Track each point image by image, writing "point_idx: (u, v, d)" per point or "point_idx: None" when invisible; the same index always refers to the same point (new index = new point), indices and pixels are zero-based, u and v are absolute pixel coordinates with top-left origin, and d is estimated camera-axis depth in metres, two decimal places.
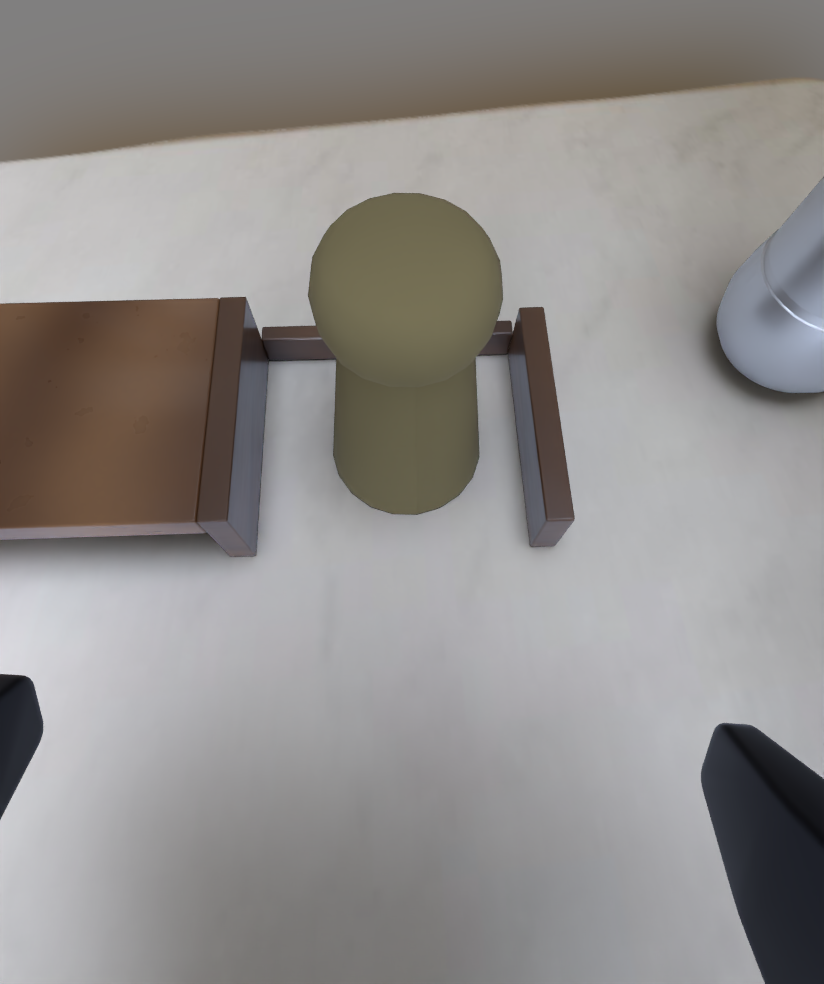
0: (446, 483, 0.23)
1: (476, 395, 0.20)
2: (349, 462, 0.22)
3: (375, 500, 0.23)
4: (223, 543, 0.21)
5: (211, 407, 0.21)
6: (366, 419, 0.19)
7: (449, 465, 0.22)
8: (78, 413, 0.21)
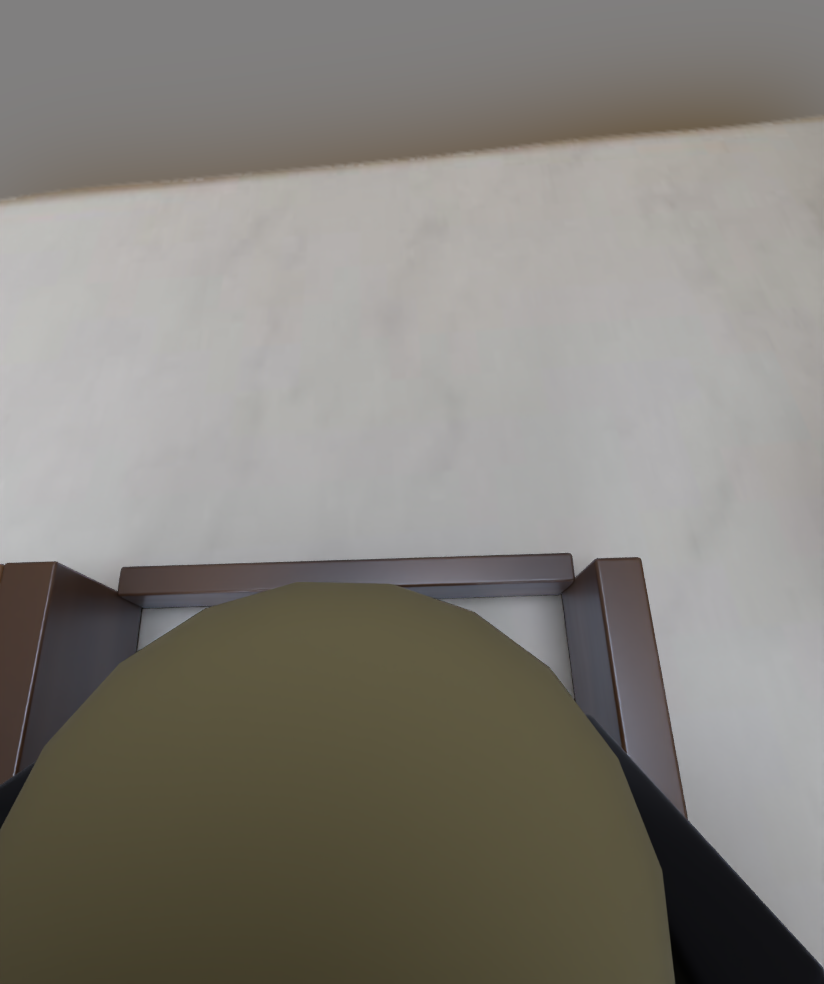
0: None
1: None
2: None
3: None
4: None
5: None
6: None
7: None
8: None
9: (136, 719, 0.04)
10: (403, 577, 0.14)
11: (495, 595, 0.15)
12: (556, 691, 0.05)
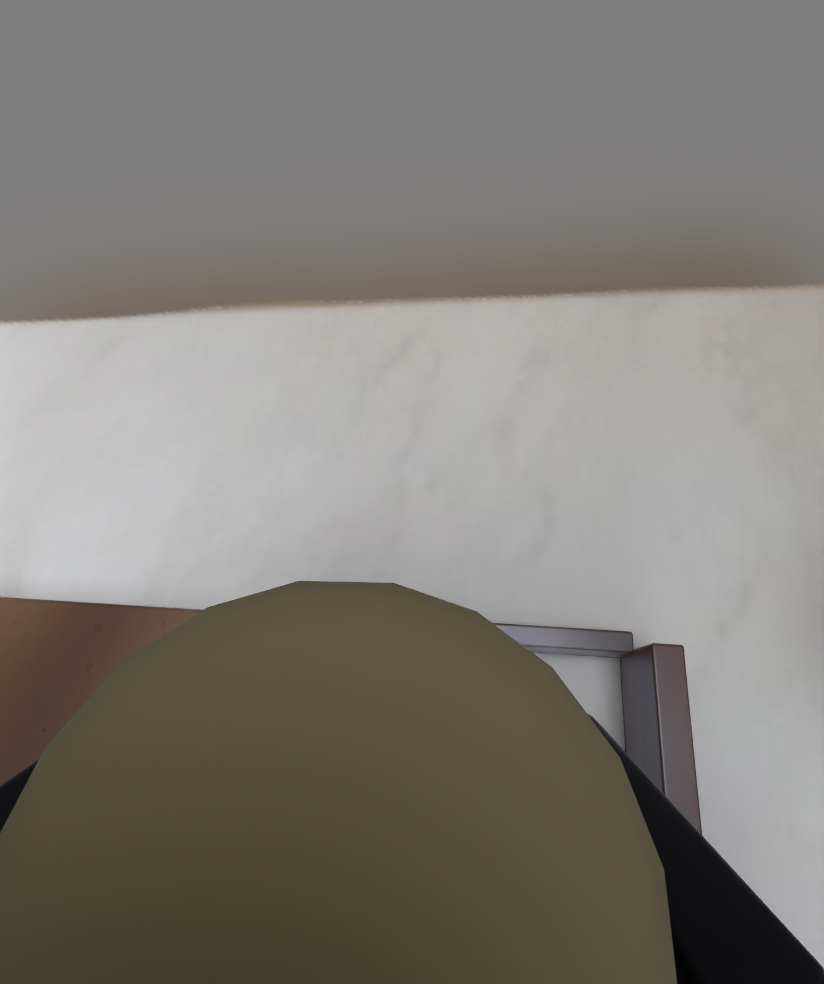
0: None
1: None
2: None
3: None
4: None
5: None
6: None
7: None
8: None
9: (139, 718, 0.04)
10: (513, 638, 0.20)
11: (572, 654, 0.21)
12: (558, 691, 0.05)
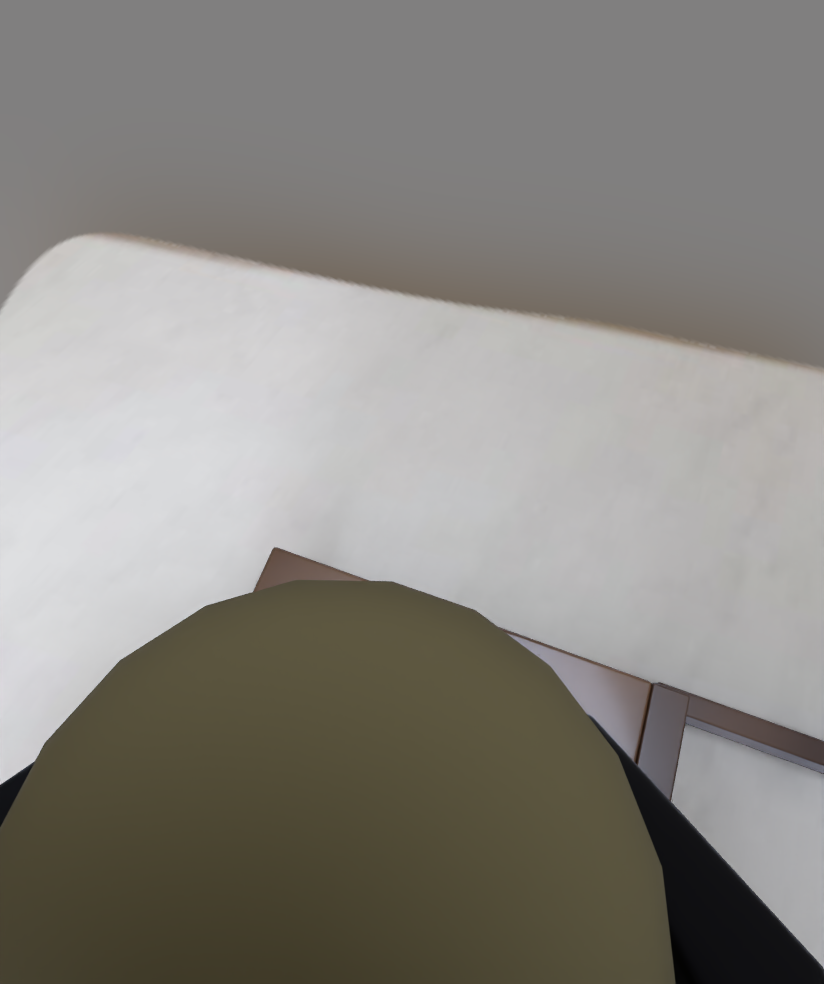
0: None
1: None
2: None
3: None
4: None
5: None
6: None
7: None
8: None
9: (136, 716, 0.04)
10: None
11: None
12: (556, 689, 0.05)
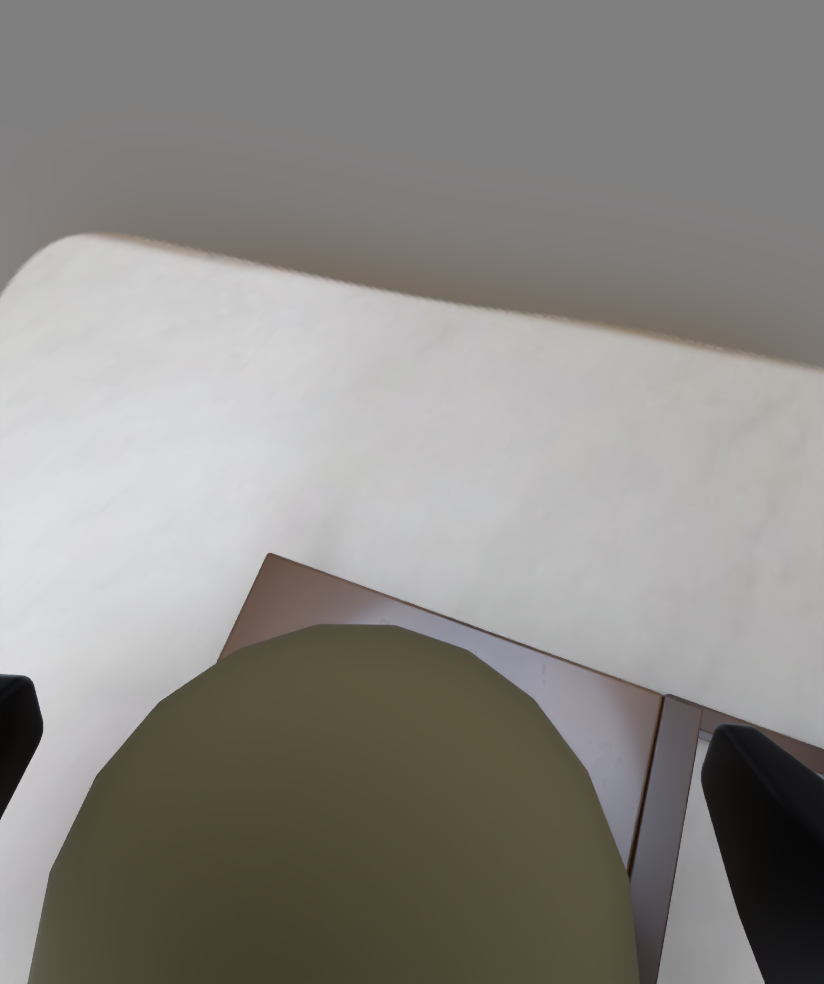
0: None
1: None
2: None
3: None
4: None
5: None
6: None
7: None
8: None
9: (180, 755, 0.05)
10: None
11: None
12: (538, 724, 0.05)
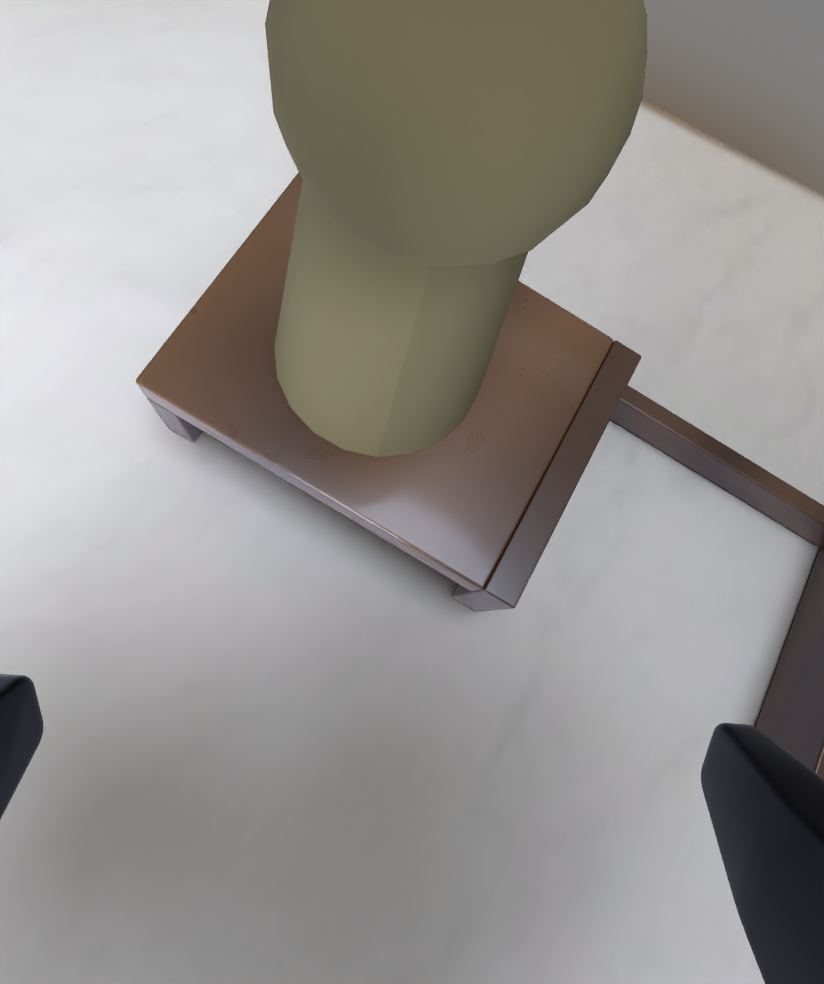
0: (429, 425, 0.16)
1: (508, 306, 0.13)
2: (295, 365, 0.15)
3: (322, 426, 0.16)
4: (469, 598, 0.19)
5: (553, 466, 0.18)
6: (333, 304, 0.11)
7: (440, 403, 0.15)
8: None
9: None
10: (761, 480, 0.22)
11: (786, 523, 0.23)
12: None
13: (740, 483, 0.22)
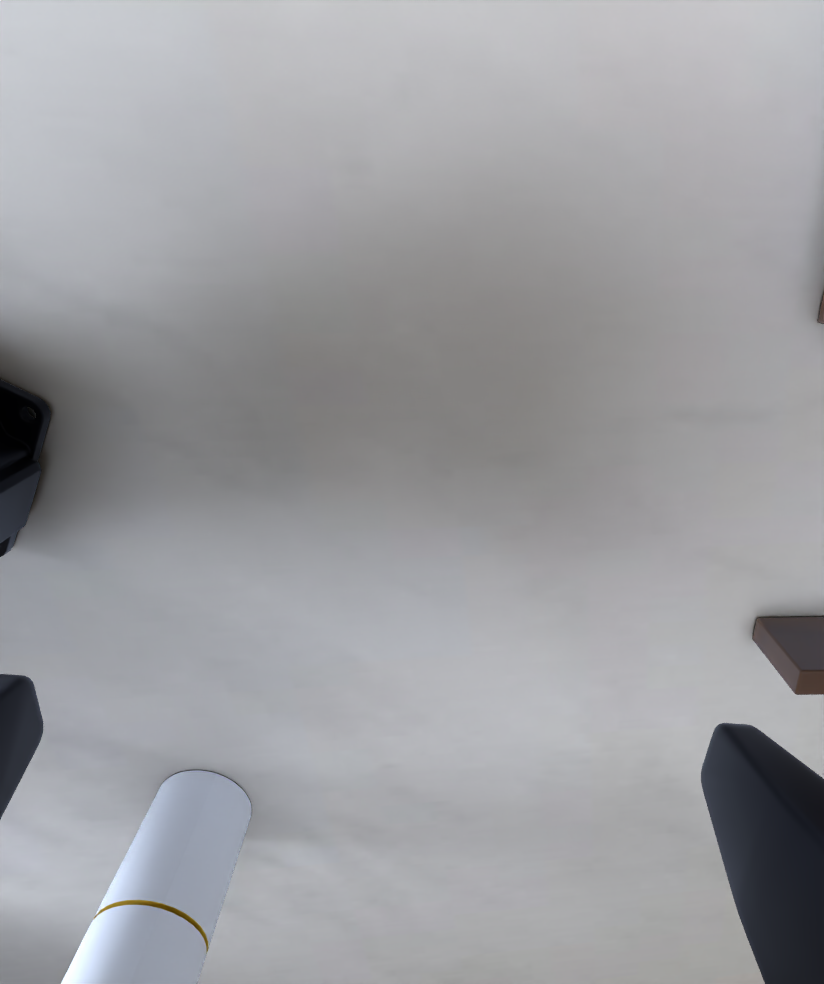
0: None
1: None
2: None
3: None
4: None
5: None
6: None
7: None
8: None
9: None
10: None
11: None
12: None
13: None
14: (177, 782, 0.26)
